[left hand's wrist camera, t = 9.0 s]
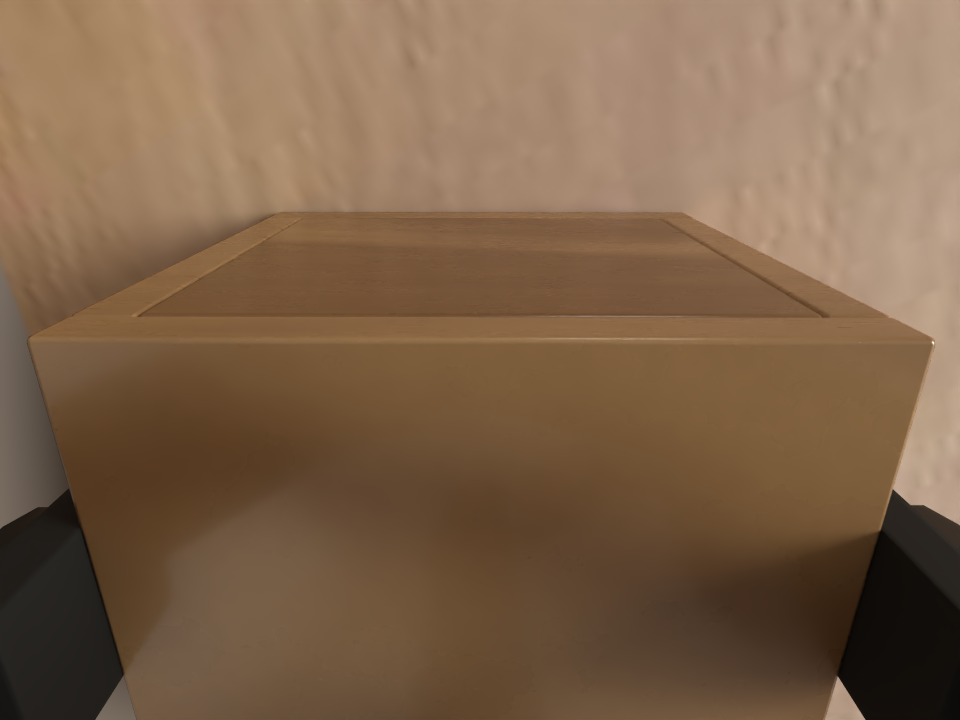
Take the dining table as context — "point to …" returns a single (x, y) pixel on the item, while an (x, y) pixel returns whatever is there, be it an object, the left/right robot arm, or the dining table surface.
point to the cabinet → (480, 469)
